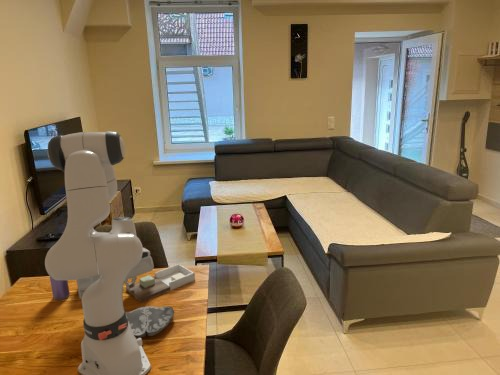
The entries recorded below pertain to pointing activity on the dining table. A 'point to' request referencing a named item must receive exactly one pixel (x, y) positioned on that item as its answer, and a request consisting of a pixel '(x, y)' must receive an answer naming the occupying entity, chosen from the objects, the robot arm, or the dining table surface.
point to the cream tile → (176, 276)
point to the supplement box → (86, 283)
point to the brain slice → (149, 320)
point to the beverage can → (59, 288)
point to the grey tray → (168, 272)
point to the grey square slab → (148, 290)
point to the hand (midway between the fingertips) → (130, 287)
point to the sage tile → (147, 281)
